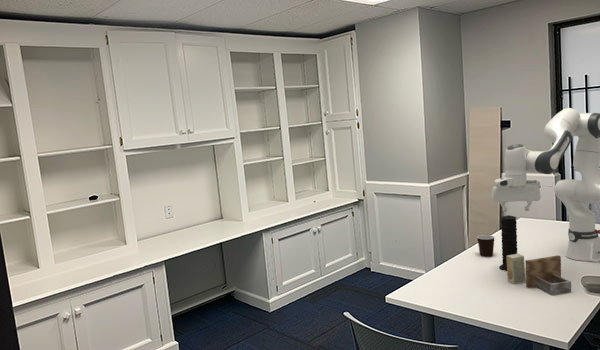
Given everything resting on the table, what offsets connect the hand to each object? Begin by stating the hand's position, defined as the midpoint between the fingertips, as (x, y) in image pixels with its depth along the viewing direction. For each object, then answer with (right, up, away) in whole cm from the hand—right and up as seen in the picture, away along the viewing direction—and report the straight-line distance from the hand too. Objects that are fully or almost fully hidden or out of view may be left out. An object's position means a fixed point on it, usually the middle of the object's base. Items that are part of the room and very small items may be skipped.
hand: (515, 210), depth 209 cm
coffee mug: (+3, -27, +39) cm, 47 cm away
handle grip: (+5, -29, +16) cm, 34 cm away
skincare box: (0, -32, -1) cm, 32 cm away
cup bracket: (+10, -32, -13) cm, 36 cm away
